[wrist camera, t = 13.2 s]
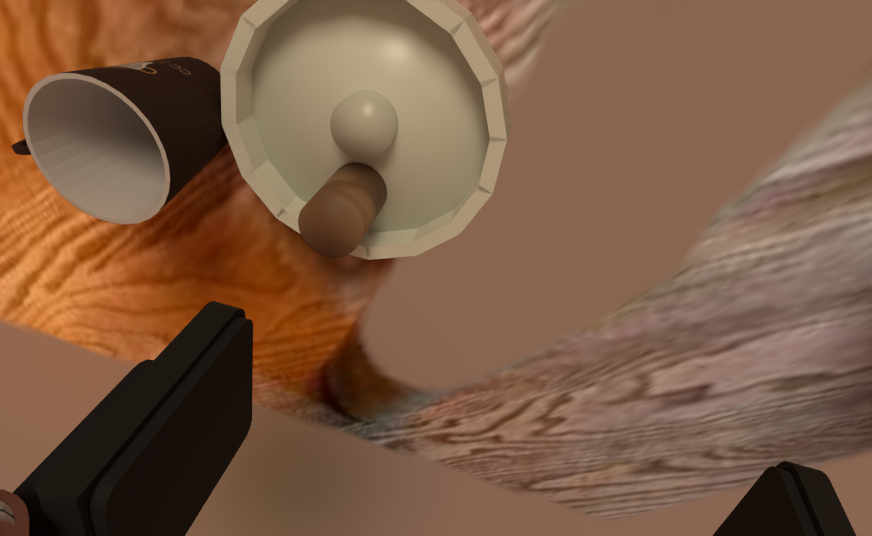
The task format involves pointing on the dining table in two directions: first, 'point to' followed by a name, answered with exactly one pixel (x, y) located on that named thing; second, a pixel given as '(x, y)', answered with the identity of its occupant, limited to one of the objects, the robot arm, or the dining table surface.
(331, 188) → the cylinder
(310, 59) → the tray
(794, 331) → the dining table surface
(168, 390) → the robot arm
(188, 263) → the dining table surface
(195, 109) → the coffee mug
